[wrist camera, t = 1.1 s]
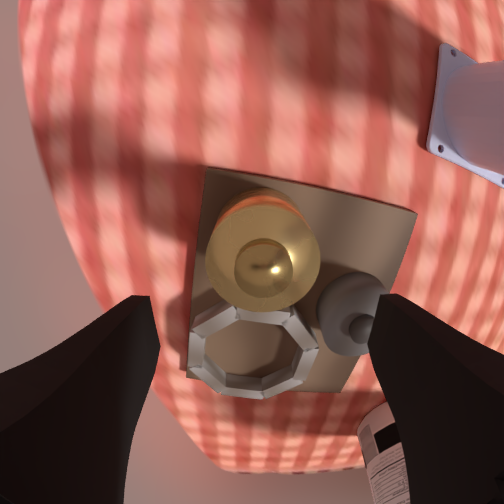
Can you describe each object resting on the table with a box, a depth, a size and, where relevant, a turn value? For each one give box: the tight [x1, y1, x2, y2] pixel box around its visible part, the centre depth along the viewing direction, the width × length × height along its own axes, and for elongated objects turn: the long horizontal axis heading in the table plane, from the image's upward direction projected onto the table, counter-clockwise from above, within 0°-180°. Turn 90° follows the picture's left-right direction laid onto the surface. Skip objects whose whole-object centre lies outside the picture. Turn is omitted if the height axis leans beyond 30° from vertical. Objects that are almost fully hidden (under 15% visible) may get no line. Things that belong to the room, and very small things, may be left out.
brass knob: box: [205, 187, 321, 312], centre depth 14 cm, size 5×5×5 cm
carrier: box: [186, 167, 418, 399], centre depth 18 cm, size 13×16×4 cm
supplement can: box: [357, 402, 410, 504], centre depth 19 cm, size 8×8×15 cm
